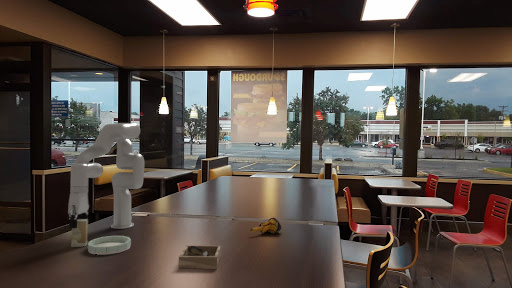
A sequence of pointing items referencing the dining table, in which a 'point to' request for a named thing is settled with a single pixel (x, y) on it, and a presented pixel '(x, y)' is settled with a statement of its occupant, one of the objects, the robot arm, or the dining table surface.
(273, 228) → the yellow gourd
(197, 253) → the eagle figurine
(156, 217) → the dining table surface
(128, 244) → the round tray
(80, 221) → the skincare box
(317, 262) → the dining table surface
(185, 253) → the wooden display box
